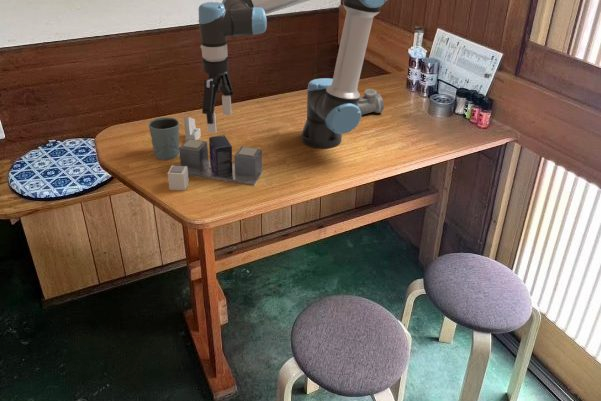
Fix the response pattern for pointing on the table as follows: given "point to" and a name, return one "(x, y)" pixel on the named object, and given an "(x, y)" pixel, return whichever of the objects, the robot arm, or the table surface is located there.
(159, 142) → the grey green plant pot
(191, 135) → the white slotted bracket
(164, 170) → the table surface
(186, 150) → the rail plate
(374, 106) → the pipe fitting
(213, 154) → the box
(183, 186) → the block
